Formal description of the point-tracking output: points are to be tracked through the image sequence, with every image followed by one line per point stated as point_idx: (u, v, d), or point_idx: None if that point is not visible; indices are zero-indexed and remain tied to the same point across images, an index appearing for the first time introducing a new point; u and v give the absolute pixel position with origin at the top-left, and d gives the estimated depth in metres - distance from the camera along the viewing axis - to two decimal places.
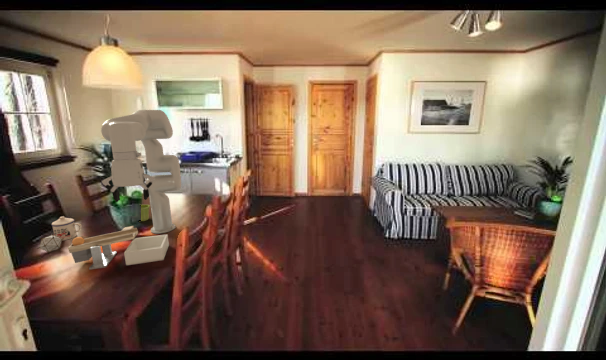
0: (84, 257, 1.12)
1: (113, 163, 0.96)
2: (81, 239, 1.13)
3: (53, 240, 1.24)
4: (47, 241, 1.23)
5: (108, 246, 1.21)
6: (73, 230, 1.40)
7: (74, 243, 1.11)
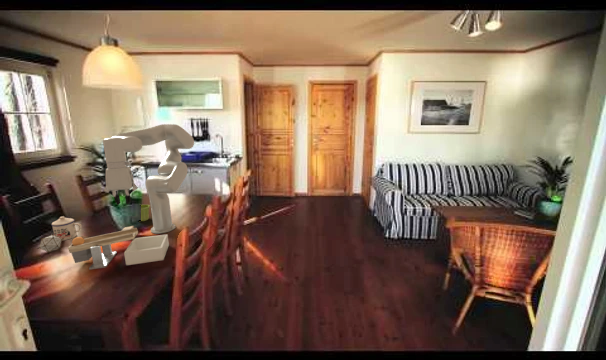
0: (84, 257, 1.12)
1: (107, 171, 1.17)
2: (81, 239, 1.13)
3: (53, 240, 1.24)
4: (46, 241, 1.23)
5: (108, 246, 1.21)
6: (73, 230, 1.40)
7: (74, 243, 1.11)
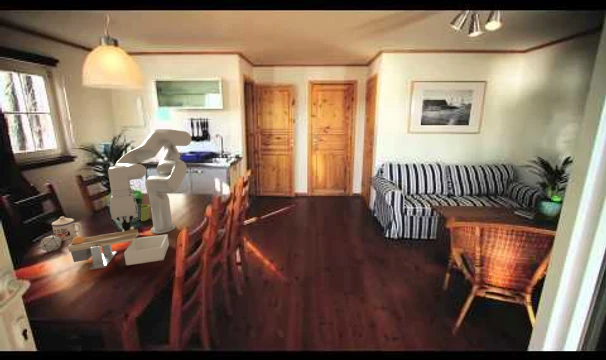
0: (83, 256, 1.12)
1: (111, 199, 1.20)
2: (81, 238, 1.13)
3: (53, 240, 1.24)
4: (46, 241, 1.23)
5: (108, 246, 1.21)
6: (73, 230, 1.40)
7: (74, 242, 1.11)
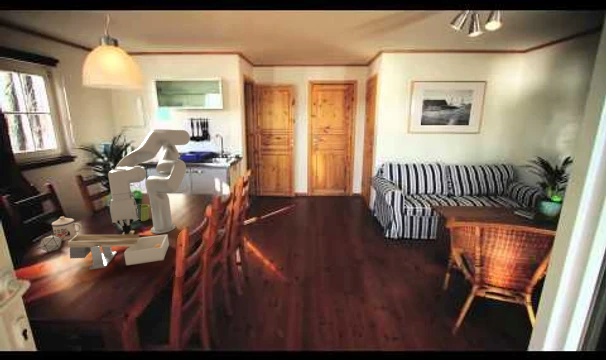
0: (81, 254, 1.11)
1: (112, 202, 1.20)
2: None
3: (53, 240, 1.24)
4: (47, 241, 1.23)
5: None
6: (73, 230, 1.40)
7: None
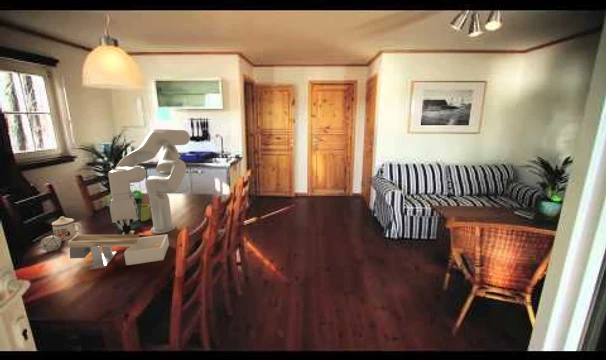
0: (81, 254, 1.11)
1: (112, 202, 1.20)
2: None
3: (53, 240, 1.24)
4: (47, 241, 1.23)
5: None
6: (73, 230, 1.40)
7: None
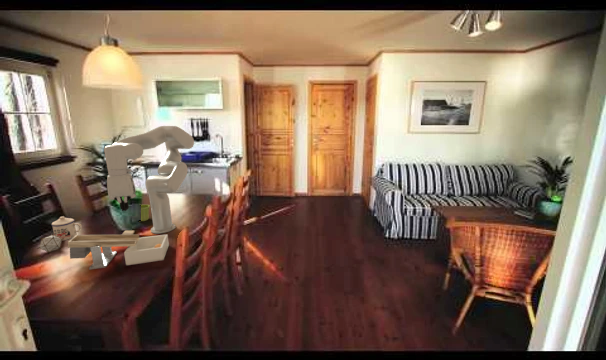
0: (81, 254, 1.11)
1: (108, 178, 1.18)
2: None
3: (53, 240, 1.24)
4: (46, 241, 1.23)
5: None
6: (73, 230, 1.40)
7: None
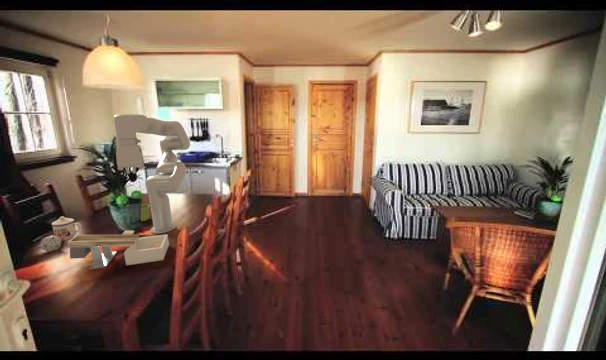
0: (81, 254, 1.11)
1: (117, 148, 1.18)
2: None
3: (53, 240, 1.24)
4: (47, 241, 1.23)
5: None
6: (73, 230, 1.40)
7: None
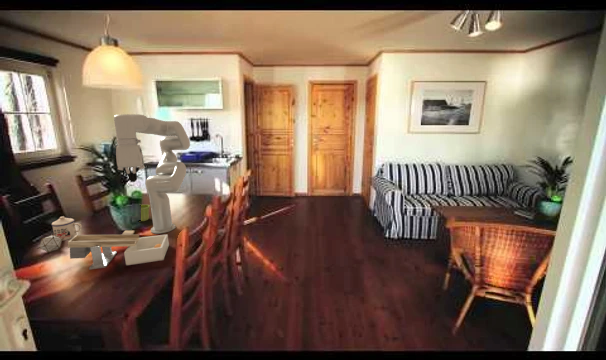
0: (81, 254, 1.11)
1: (117, 148, 1.18)
2: None
3: (53, 240, 1.24)
4: (47, 241, 1.23)
5: None
6: (73, 230, 1.40)
7: None
